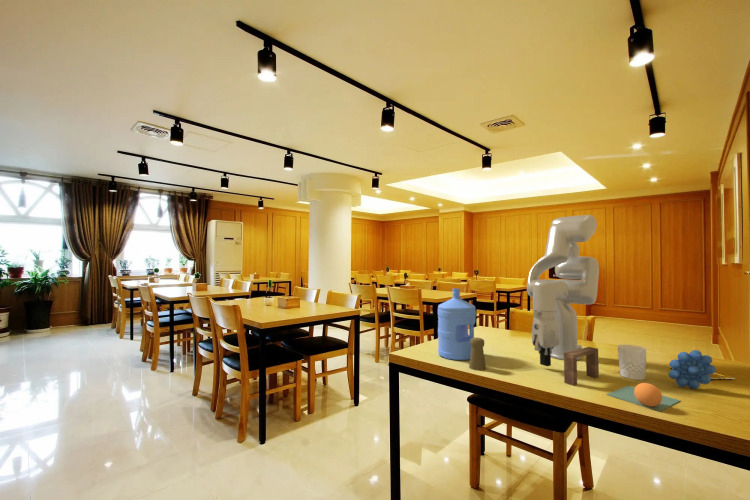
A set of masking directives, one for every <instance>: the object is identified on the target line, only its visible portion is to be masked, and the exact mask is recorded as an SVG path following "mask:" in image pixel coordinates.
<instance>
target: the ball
mask: <svg viewBox="0 0 750 500" xmlns="http://www.w3.org/2000/svg"><path fill="white" fill-rule="evenodd" d="M634 388H635V389H634V395H635V397H636V399H637V400H638V401H639V402H640V403H641V404H643V405H645V406H649V407H654V406H657V405H659V404H660V403H661V401H662V392H661V390H660V389H659V388H658V387H656V386H655V385H654V384H651V383H648V382H641V383H638V384H637V385H636V386H635V387H634Z"/></svg>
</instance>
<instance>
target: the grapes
mask: <svg viewBox="0 0 750 500" xmlns="http://www.w3.org/2000/svg"><path fill="white" fill-rule="evenodd" d="M712 363H713V358H712V356H710V355H708V354H706V355H705V354H704V355H703V354H702V352H701V351H700V350H697V349H696V350H695V349H693V350H691V351H690V352H686V351H681V352H679V353H678V354H677V359H672V360H671V361H670V362H669V367H671V368H672V369H673V370H672V369H671V370H669V372H668V376H669V378H670V379H672V380H675V384H676V386H677V387H680V388H684V387H685V388H686V386H687V387H688V388H689V389H691V388H692V390H696V389H699V388H700V385H707V384H709V383H710V382H711V381H712V380H711V375H715V374H714V373H715V372H717V368H716V366H715V365H714V364H712ZM707 374H708V375H707Z"/></svg>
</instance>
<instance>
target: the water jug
mask: <svg viewBox="0 0 750 500" xmlns="http://www.w3.org/2000/svg"><path fill="white" fill-rule="evenodd" d="M476 314H477V313H476V306H475V305H474V304H471V303H470V302H469V301H466V300H464V299H462V298H461V288H452V298H450V299H448V300H447V301H444V302H442V303H440V304H438V306H437V318H438V320H437V323H438V324H437V337H438V341H437V342H438V344H437V345H438V347H437V352H438V356H440V357H442V358H445V359H447V360H452V361H454V360H455V361H468V360H469V361H470V356H471V348H472V347H471V345H470V340H471V339H472V338H475V323H476V317H477V315H476Z"/></svg>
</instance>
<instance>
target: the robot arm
mask: <svg viewBox="0 0 750 500" xmlns="http://www.w3.org/2000/svg"><path fill="white" fill-rule="evenodd" d="M597 227H598V222H597V219H596V218H595V216H593V215H592V214H584V215H583V214H582V215H571V216H561V217H557V218H555V219H553V220H552V221H551V224H550V227H549V228H548V229H549V230H548V233H547V239H546V245H545V251H544V255H543V256H542V257H541V258H540V259H538V260H537V261H536V262H535V263H534V264H533V266H532V267H531V269H529V272H528V277H527V283H526V292H527V295H528V296H529V297H530V298H532V317H533V320H532V328H531V343H532V345H533V346H534V351H537V352H538V354H539V364H540V365H541V366H544V367H550V366H552V360H551V359H552V358H554V359H558V360H563V361H564V353H565V352H569V351H573V350H578V349H582V348H583V346H582V345H581V344H578V315H577V312H576V310H575V309H574V308H573V306H572V305H573V304H575V305H576V304H577V305H593V304H595V302H596V301H597V298H598V297H597V296H598V290H599V289H598V287H599V278H600V277H599V276H600V267H599V266H600V265H599V262H598V260H597V259H596V258H595V257H592V256H580V252H581V247H580V245H579V244H578V243H586V242H588V241H589V240H590V239H591V238H592V237H593V235H594V234H595V233H596V231H597ZM552 268H554V273H555V276H557V278H559V279H540V277H541V275H542V274H544V272H546V271H547V270H549V269H552ZM571 304H572V305H571ZM582 359H583V356H582V357H578V358H577V361H580V360H582Z"/></svg>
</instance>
